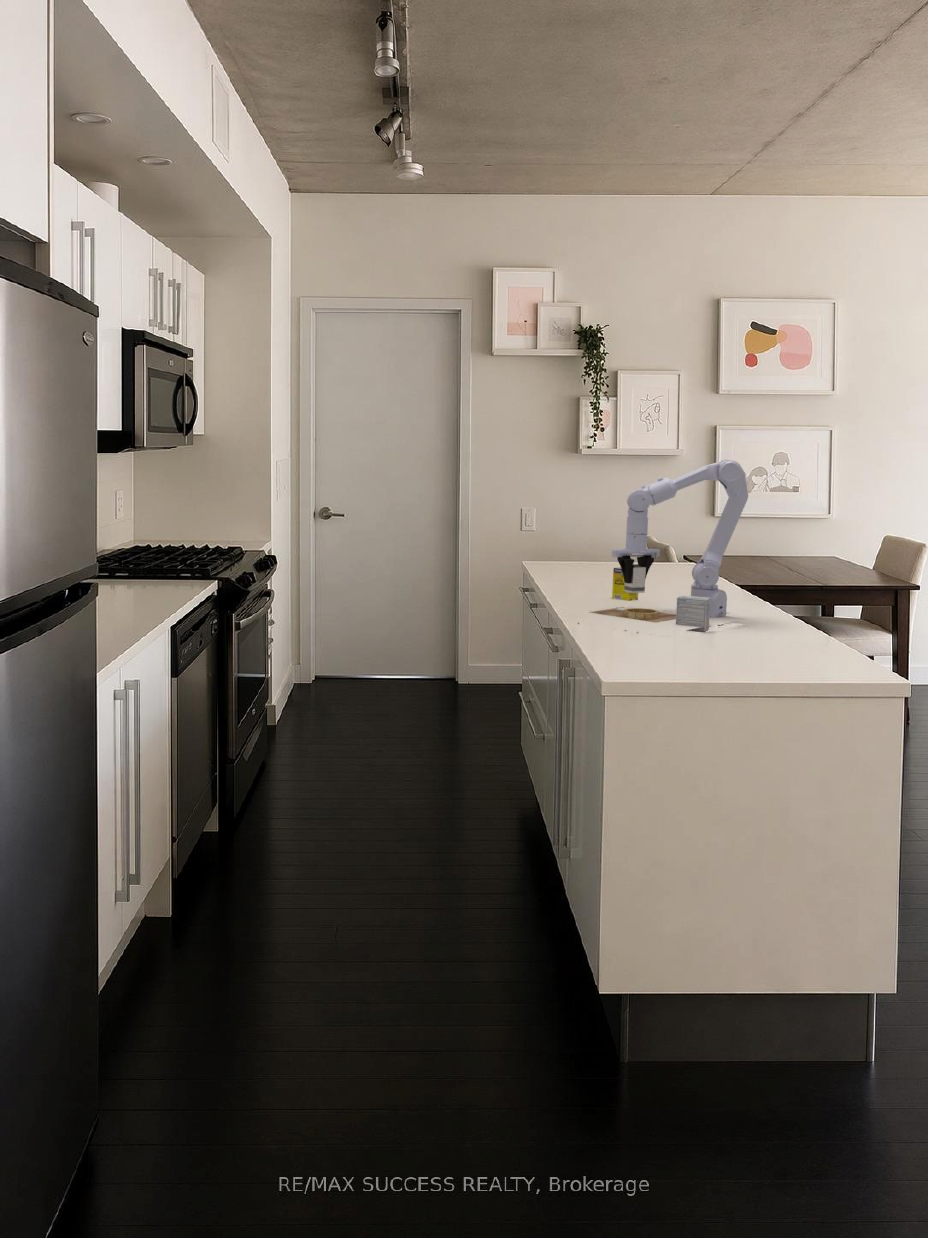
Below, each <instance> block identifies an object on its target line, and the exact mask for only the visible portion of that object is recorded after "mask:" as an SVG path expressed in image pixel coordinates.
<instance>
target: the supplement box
mask: <svg viewBox="0 0 928 1238" xmlns="http://www.w3.org/2000/svg"><path fill="white" fill-rule="evenodd" d="M612 573H613V575H612V591H611V599H612V600H618V601H619V600H620V601H627V602H628V601H634V600H636V601H639V593H630V592H626V591H624V586H625V582H624V576H623V572H622V569H621V566H619V567H618V566H617V567H613V571H612Z"/></svg>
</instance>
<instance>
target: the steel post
mask: <svg viewBox="0 0 928 1238" xmlns="http://www.w3.org/2000/svg"><path fill="white" fill-rule="evenodd" d="M645 574H646V567H642V565H638V563H636V564H635V563H633V567H632V575H631V583H629V584H628V583H625V586H624V591H626V592H630V593H638V594H642V593H643V594H644V593H646V592H645V590H646V579H645Z"/></svg>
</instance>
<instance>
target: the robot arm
mask: <svg viewBox="0 0 928 1238" xmlns="http://www.w3.org/2000/svg"><path fill="white" fill-rule="evenodd" d="M746 479H747V478H746V472H745V471H744V469H743V467H742V465H741V464H740V463H739V462H738V461H736V460H730V459H724V460H720V461H719V462H714V463H710V464H705V465H703V466H701V467H699V468H696V469H694V470H692V471H690V472H688V473H685V474H683V475H681V476H679V477H677V478H674V479H671V478H668V477H664V478H663V477H659V478H657V481H654V482H652V483H650V484H648V485H645V484H643V485H641V487H640V488H641V489H634V490H632V491H631V492H630V493H629V494H628V496H627V499H626V503H627V506H628V509H627V517H626V537H625V548H621V549H612V550H611V558H617V559H616V560H617V563H618V564H619V565H620V566H619V567H621V569H622V572H623V576H624V582H625V583H628V584H629V583H631V575H632V567H633V564H635V558H636V560H637V564H638V565H642V567H646V574H645V580H646V578H647V575H648V573H649V571H650V568H651V566H652V565H653V563H654V562H655V557H660V555H661V549H659V548H648V529H649V526H648V525H649V517H648V513H649V512H648V508H650V506H656V505H658V504H661V503H663V502H665V501H668V500H670V499H673V498H675V497H676V494H677V492H678V491H680V490H682V489H683V490H684V489H686V488H687V487H690V486H692V485H695V484H698V483H701V482H704V481H713V482H714V481H716V482H717V481H718V482H719V483H720V484H721V485H722V486H723V487H724V490H725V492H726V494H727V497H728V498H727V501H726V503H725V505H724V508H723V510H722V512H721V515H720V516H719V519H718V522H717V524H716V526H715V529H714V530H713V533H712V535H711V538H710V540H709V542H708V544H707V547H706V550H705V551H704V552H703V554H702V556H701V557H700V560H699V561H698V562H697V563H696V564H695V565H694V566H693V568H692V571H691V576H692V579H693V580H694V582H693V583H692V584H691V585H690V586H691V587H690V596H696V597H707V598H710V614H709V618H714V619H715V618H723V617H727V604H728V603H727V602H728V597H727V596H728V595H727V593H726V591H725V590H723V589H719V586H718V584H717V583H718V581H719V578H720V567H721V565H722V561H723V556H724V555H725V552H726V551H727V550H726V549H727V548H728V545H729V543H730V540H731V538H732V536H733V533H734V531H735V529H736V527H737V525H738V522H739V519H740V517H741V515H742V513H743V511H744V508H745V507H746V504H747V502H748V499H749V490H748V485H747V480H746ZM634 557H635V558H634Z"/></svg>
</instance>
